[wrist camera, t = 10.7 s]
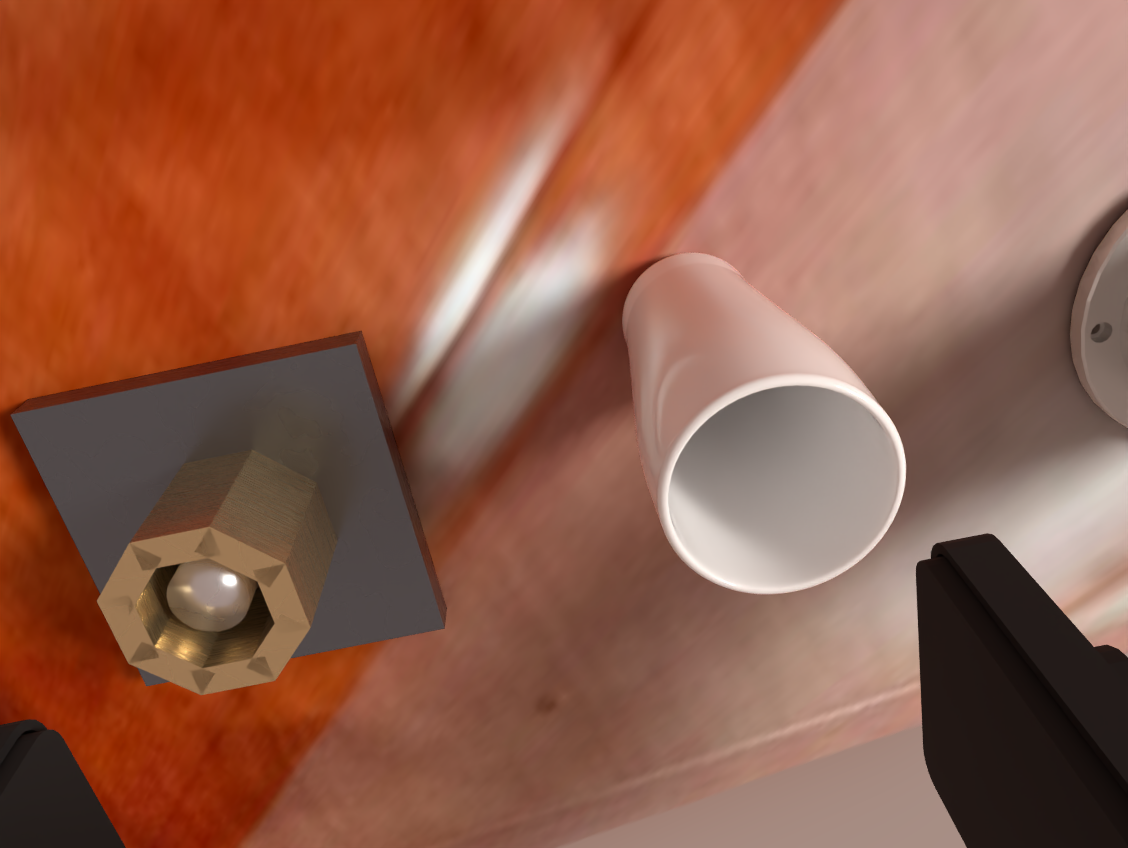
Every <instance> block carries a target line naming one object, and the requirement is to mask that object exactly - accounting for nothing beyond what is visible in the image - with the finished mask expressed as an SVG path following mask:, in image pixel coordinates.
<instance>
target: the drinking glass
mask: <svg viewBox="0 0 1128 848" xmlns="http://www.w3.org/2000/svg"><path fill="white" fill-rule="evenodd" d="M622 326H623V333H624V338H625V341H626V344H627V347H628V355H629V365H630V376H631V387H632V399H633V411H634V421H635V431H636V439H637V446H638V451H639V456H640V461H641V465H642V469H643V473H644V477H645V480H646V484H647V487H648V490H649V493H650V496H651V499H652V502H653V505H654V507H655V510H656V513H657V515H658V518H659V520H660V523H661V525H662V528H663V531H664V534H665V536H666V538H667V540H668V542H669V543H670V545H671V547H672V548H673V550H674V551H675V552H676V554H677V555H678V556H679V557H680V559H681V560H682V561H683V562H684V563H685V564H686V565H687V566H688V567H690V568H691V569H692V570H693V571H695V572H696V573H697V574H699V575H700V576H702V577H703V578H705V579H707V580H709V581H711V582H713V583H715V584H717V585H719V586H722V587H724V588H728V589H731V590H735V591H739V592H744V593H752V594H782V593H789V592H795V591H799V590H804V589H807V588H810V587H813V586H816V585H819V584H821V583H824V582H826V581H828V580H830V579H832V578H834V577H836V576H838V575H840V574H841V573H843V572H845V571H847V570H848V569H849V568H851V567H852V566H854V565H855V564H856V563H858V562H859V561H860V560H861V559H862V558H864V557H865V556H866V555H867V554H868V553H869V552H870V551H871V550H872V549H873V548H874V547H875V546H876V545H877V543H878V542H879V541H880V540H881V539H882V537H883V536H884V534H885V533H886V532H887V530H888V528H889V527H890V525H891V523H892V522H893V520H894V518H895V516H896V514H897V511H898V509H899V506H900V503H901V501H902V497H903V493H904V488H905V481H906V461H905V454H904V449H903V445H902V442H901V439H900V436H899V434H898V431H897V429H896V427H895V425H894V424H893V422H892V420H891V419H890V417H889V416H888V414H887V413H886V412H885V411H884V410H883V408H882V407H881V405H880V404H879V402H878V401H877V400H876V398H875V397H874V396H873V394H872V393H871V392H870V390H869V389H868V388H867V387H866V385H865V384H864V383H863V382H862V380H861V379H860V378H859V377H858V376H857V374H856V373H855V372H854V371H853V370H852V369H851V367H850V366H849V365H848V364H847V363H846V362H845V361H844V360H843V359H842V358H841V357H840V356H839V355H838V354H837V353H836V352H835V351H834V350H833V349H832V348H831V347H830V346H829V345H827V344H826V343H825V342H824V341H823V340H822V339H821V338H819V337H818V336H817V335H815V334H814V333H813V332H812V331H810V330H809V329H808V328H807V327H805V326H804V325H803V324H801V323H800V322H799V321H797V320H796V319H795V318H794V317H792V316H791V315H790V314H788V313H787V312H786V311H784V310H783V309H782V308H780V307H779V306H778V305H776V304H775V303H774V302H772V301H771V300H770V299H769V298H767V297H766V296H765V295H763V294H762V293H761V292H760V291H758V290H757V289H756V288H754V287H753V286H752V285H751V284H750V283H748V282H747V281H746V280H745V278H744V277H743V276H742V275H741V274H740V273H739V272H738V271H737V270H736V269H735V268H734V267H733V266H732V265H730V264H729V263H727V262H726V261H724V260H722V259H720V258H718V257H715V256H712V255H709V254H704V253H694V252H691V253H681V254H676V255H672V256H669V257H666V258H664V259H662V260H660V261H658V262H656V263H655V264H653V265H652V266H650V267H649V268H648V269H647V270H645V271H644V272H643V273H642V274H641V275H640V276H639V278H638V279H637V280H636V281H635V283H634V284H633V286H632V287H631V289H630V291H629V293H628V295H627V298H626V301H625V304H624V308H623V315H622Z"/></svg>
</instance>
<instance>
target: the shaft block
mask: <svg viewBox="0 0 1128 848" xmlns="http://www.w3.org/2000/svg"><path fill="white" fill-rule="evenodd" d="M10 415H11V417H12V419H13V421H14V423H15V425H16V427H17V429H18V431H19V433H20V435H21V437H22V439H23V441H24V443H25V445H26V447H27V449H28V451H29V453H30V455H31V457H32V459H33V461H34V463H35V465H36V467H37V469H38V471H39V473H40V475H41V477H42V479H43V481H44V483H45V485H46V487H47V489H48V491H49V493H50V495H51V497H52V499H53V501H54V503H55V505H56V507H57V509H58V511H59V513H60V515H61V517H62V519H63V521H64V523H65V525H66V527H67V529H68V531H69V533H70V535H71V537H72V539H73V541H74V543H75V545H76V547H77V549H78V551H79V553H80V555H81V557H82V559H83V561H84V563H85V564H86V566H87V568H88V570H89V572H90V574H91V576H92V578H93V580H94V582H95V584H96V586H97V588H98V590H99V592H100V594H101V593H102V591H103V589H104V587H105V586H106V584H107V582H108V580H109V578H110V577H111V575H112V573H113V571H114V569H115V568H116V566H117V564H118V562H119V560H120V559H121V557H122V555H123V553H124V551H125V550H126V548H127V546H128V544H129V543H130V541H131V540H132V538H133V537H134V535H135V534H136V532H137V531H138V529H139V528H140V527H141V525H142V524H143V522H144V521H145V519H146V518H147V516H148V515H149V513H150V512H151V510H152V509H153V508H154V506H155V505H156V503H157V502H158V500H159V499H160V497H161V496H162V494H163V493H164V492H165V490H166V489H167V487H168V486H169V484H170V483H171V481H172V480H173V478H174V477H175V475H176V474H177V473H178V471H179V470H180V468H181V467H182V465H183V464H184V463H189V462H194V461H199V460H204V459H209V458H214V457H218V456H223V455H228V454H233V453H238V452H243V451H248V450H254V451H256V452H258V453H260V454H262V455H264V456H266V457H268V458H270V459H272V460H274V461H276V462H277V463H279V464H281V465H283V466H285V467H287V468H289V469H291V470H293V471H295V472H297V473H299V474H301V475H303V476H305V477H306V478H308V479H310V480H312V481H314V482H316V483H317V485H318V488H319V490H320V493H321V496H322V499H323V501H324V504H325V507H326V510H327V513H328V515H329V518H330V521H331V524H332V527H333V529H334V532H335V535H336V538H337V544H336V548H335V551H334V554H333V557H332V561H331V564H330V567H329V570H328V573H327V577H326V580H325V583H324V586H323V589H322V593H321V596H320V599H319V602H318V606H317V609H316V612H315V615H314V618H313V622H312V625H311V628H310V629H309V631H308V632H307V634H306V635H305V637H304V638H303V640H302V641H301V643H300V644H299V646H298V647H297V649H296V650H295V652H294V653H293V655H292V656H291V658H295V657H300V656H305V655H310V654H315V653H320V652H326V651H331V650H336V649H341V648H346V647H351V646H357V645H362V644H367V643H372V642H377V641H382V640H388V639H393V638H398V637H403V636H408V635H413V634H419V633H424V632H429V631H434V630H439V629H444V628H445V620H446V610H447V608H446V605H445V601H444V598H443V595H442V592H441V588H440V585H439V582H438V579H437V575H436V572H435V569H434V566H433V562H432V559H431V556H430V553H429V549H428V546H427V543H426V540H425V536H424V533H423V530H422V527H421V523H420V520H419V517H418V514H417V510H416V507H415V504H414V501H413V497H412V494H411V491H410V487H409V484H408V481H407V478H406V474H405V471H404V468H403V465H402V461H401V458H400V455H399V452H398V448H397V445H396V442H395V439H394V435H393V432H392V429H391V426H390V422H389V419H388V416H387V413H386V409H385V406H384V403H383V400H382V396H381V393H380V390H379V387H378V383H377V380H376V377H375V374H374V370H373V367H372V364H371V361H370V357H369V354H368V351H367V348H366V344H365V341H364V338H363V335H362V331H359V332H354V333H349V334H344V335H339V336H334V337H329V338H325V339H320V340H315V341H310V342H305V343H300V344H295V345H290V346H286V347H281V348H276V349H271V350H266V351H261V352H256V353H251V354H247V355H242V356H237V357H232V358H227V359H222V360H217V361H213V362H208V363H203V364H198V365H193V366H188V367H183V368H178V369H174V370H169V371H164V372H159V373H154V374H149V375H144V376H140V377H135V378H130V379H125V380H120V381H115V382H110V383H105V384H101V385H96V386H91V387H86V388H81V389H76V390H71V391H67V392H62V393H57V394H52V395H47V396H42V397H37V398H32V399H28V400H27V401H26V402H24V403H23V404H22V405H21V406H20V407H19V408H17V409H16V410H15V411H14V412H13V413H12V414H10ZM258 585H259V584H258V581H256V580H253V579H251V578H249V577H247V576H245V575H243V574H241V573H239V572H237V571H235V570H232V569H230V568H228V567H226V566H224V565H222V564H220V563H218V562H216V561H213V560H211V559H209V558H205V559H200V560H195V561H190V562H185V563H180V565H179V567H178V569H177V570H176V572H175V574H174V576H173V577H172V579H171V581H170V583H169V585H168V588H167V601H168V604H169V607H170V609H171V611H172V612H173V613H174V615H175V616H176V617H177V618H178V619H179V620H181V621H182V622H183V623H185V624H186V625H188V626H190V627H193V628H195V629H198V630H202V631H210V632H215V631H223V630H227V629H229V628H232V627H234V626H236V625H237V624H238V623H240V622H241V621H242V620H243V618H244V617H245V615H246V613H247V611H248V609H249V607H250V604H251V602H252V599H253V597H254V595H255V592H256V590H257V587H258ZM138 670H139V672H140V674H141V676H142V678H143V680H144V682H145V684H146V686H150V685H155V684H160V683H165V682H170V681H168V680H165V679H163V678H161V677H158V676H156V675H154V674H151V673H149V672H147V671H144V670H142V669H140V668H138Z"/></svg>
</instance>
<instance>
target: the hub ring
mask: <svg viewBox="0 0 1128 848" xmlns="http://www.w3.org/2000/svg"><path fill="white" fill-rule="evenodd" d="M336 544H337V538H336V535H335V532H334V529H333V527H332V524H331V521H330V518H329V515H328V513H327V510H326V507H325V504H324V501H323V499H322V496H321V493H320V490H319V488H318V485H317V483H316V482H314V481H312V480H310V479H308V478H306V477H305V476H303V475H301V474H299V473H297V472H295V471H293V470H291V469H289V468H287V467H285V466H283V465H281V464H279V463H277V462H276V461H274V460H272V459H270V458H268V457H266V456H264V455H262V454H260V453H258V452H256V451H254V450H248V451H243V452H238V453H233V454H228V455H223V456H218V457H214V458H209V459H204V460H199V461H194V462H189V463H184V464H183V465H182V467H181V468H180V470H179V471H178V473H177V474H176V475H175V477H174V478H173V480H172V481H171V483H170V484H169V486H168V487H167V489H166V490H165V492H164V493H163V494H162V496H161V497H160V499H159V500H158V502H157V503H156V505H155V506H154V508H153V509H152V510H151V512H150V513H149V515H148V516H147V518H146V519H145V521H144V522H143V524H142V525H141V527H140V528H139V529H138V531H137V532H136V534H135V535H134V537H133V538H132V540H131V541H130V543H129V544H128V546H127V548H126V550H125V551H124V553H123V555H122V557H121V559H120V560H119V562H118V564H117V566H116V568H115V569H114V571H113V573H112V575H111V577H110V578H109V580H108V582H107V584H106V586H105V587H104V589H103V591H102V593H101V595H100V596H99V598H98V600H97V603H98V605H99V607H100V608H101V610H102V612H103V614H104V616H105V618H106V620H107V622H108V624H109V626H110V628H111V630H112V632H113V634H114V636H115V638H116V640H117V642H118V644H119V646H120V648H121V650H122V652H123V654H124V656H125V658H126V660H127V662H128V664H131V665H133V666H135V667H137V668H140V669H142V670H144V671H147V672H149V673H151V674H154V675H156V676H158V677H161V678H163V679H165V680H168V681H170V682H172V683H175V684H177V685H179V686H182V687H184V688H186V689H189V690H191V691H193V692H195V693H198V694H200V695H204V694H209V693H215V692H220V691H225V690H230V689H235V688H240V687H245V686H250V685H256V684H261V683H266V682H271V681H275V680H276V679H277V677H278V676H279V674H280V673H281V671H282V670H283V668H284V667H285V665H286V664H287V662H288V661H289V659H290V658H291V656H292V655H293V653H294V652H295V650H296V649H297V647H298V646H299V644H300V643H301V641H302V640H303V638H304V637H305V635H306V634H307V632H308V631H309V629H310V628H311V625H312V622H313V618H314V615H315V612H316V609H317V606H318V602H319V599H320V596H321V593H322V589H323V586H324V583H325V580H326V577H327V573H328V570H329V567H330V564H331V561H332V557H333V554H334V551H335V548H336ZM205 558H209V559H211V560H213V561H216V562H218V563H220V564H222V565H224V566H226V567H228V568H230V569H232V570H235V571H237V572H239V573H241V574H243V575H245V576H247V577H249V578H251V579H253V580H256V581H258V584H259V585H258V587H257V590H256V592H255V595H254V597H253V599H252V602H251V604H250V607H249V609H248V611H247V613H246V615H245V617H244V618H243V620H242V621H241V622H240V623H238V624H237V625H236V626H234V627H232V628H229V629H227V630H223V631H215V632H210V631H202V630H198V629H195V628H193V627H190V626H188V625H186V624H185V623H183V622H182V621H181V620H179V619H178V618H177V617H176V616H175V615H174V613H173V612H172V611H171V609H170V607H169V604H168V601H167V588H168V585H169V583H170V581H171V579H172V577H173V576H174V574H175V572H176V570H177V569H178V567H179V565H180V563H185V562H190V561H195V560H200V559H205Z"/></svg>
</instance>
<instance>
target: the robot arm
mask: <svg viewBox="0 0 1128 848" xmlns="http://www.w3.org/2000/svg"><path fill="white" fill-rule="evenodd" d="M1070 342H1071V350H1072V359H1073V363H1074V366H1075V369H1076V371H1077V374H1078V377H1079V380H1080V382H1081V384H1082V386H1083V387H1084V389H1085V390H1086V392H1087V393H1088V395H1089V396H1090V398H1091V399H1092V401H1093V402H1094V403H1095V404H1096V405H1097V406H1099V407H1100V408H1101V409H1102V410H1103V411H1104V412H1105V413H1106V414H1108V415H1109V416H1110V417H1111V418H1113V419H1114V420H1116V421H1117V422H1119V423H1120V424H1122V425H1123V426H1125V427H1127V428H1128V209H1127V210H1126V212H1125V213H1124V214H1123V215H1122V216H1121V217H1120V218H1119V219H1118V220H1117V221H1116V222H1115V223H1114V224H1113V226H1112V227H1111V228H1110V230H1109V231H1108V233H1107V234H1106V236H1105V237H1104V239H1103V240H1102V241H1101V243H1100V244H1099V246H1098V247H1097V249H1096V250H1095V252H1094V253H1093V255H1092V258H1091V260H1090V262H1089V264H1088V266H1087V268H1086V270H1085V272H1084V274H1083V276H1082V278H1081V280H1080V284H1079V287H1078V291H1077V294H1076V298H1075V301H1074V305H1073V308H1072V318H1071V328H1070ZM916 586H917V610H918V634H919V658H920V681H921V705H922V729H923V749H924V756H925V761H926V765H927V768H928V772H929V774H930V777H931V779H932V782H933V784H934V786H935V788H936V790H937V792H938V794H939V795H940V798H941V799H942V801H943V803H944V805H945V807H946V809H947V811H948V813H949V815H950V816H951V818H952V820H953V822H954V824H955V825H956V828H957V830H958V832H959V833H960V835H961V837H962V839H963V841H964V843H965V845H966V847H967V848H1128V657H1127V656H1126V655H1125V654H1123V653H1122V652H1121V651H1120V650H1119V649H1117V648H1114V647H1112V646H1109V645H1103V646H1097V647H1093V646H1092V644H1091V643H1090V642H1089V641H1088V640H1087V639H1086V638H1085V636H1084V635H1083V634H1082V633H1081V632H1080V631H1079V630H1078V629H1077V627H1076V626H1075V625H1074V624H1073V623H1072V622H1071V621H1070V620H1069V618H1068V617H1067V616H1066V615H1065V614H1064V613H1063V612H1062V610H1061V609H1060V608H1059V607H1058V606H1057V605H1056V604H1055V603H1054V601H1053V600H1052V599H1051V598H1050V597H1049V596H1048V595H1047V594H1046V592H1045V591H1044V590H1043V589H1042V588H1041V587H1040V586H1039V584H1038V583H1037V582H1036V581H1035V580H1034V579H1033V578H1032V577H1031V575H1030V574H1029V573H1028V572H1027V571H1026V570H1025V569H1024V567H1023V566H1022V565H1021V564H1020V563H1019V562H1018V561H1017V560H1016V558H1015V557H1014V556H1013V555H1012V554H1011V553H1010V552H1009V551H1008V549H1007V548H1006V547H1005V546H1004V545H1003V544H1002V543H1001V541H1000V540H999V539H997V538H996V537H995V536H994V535H992V534H988V533H987V534H982V535H977V536H972V537H966V538H961V539H956V540H951V541H946V542H941V543H936V544H935V545H934V546H933V548H932V551H931V559H927V560H922V561H919V562H918V563H917V566H916ZM0 848H126V847H125V846H124V844H123V842H122V840H121V839H120V837H119V835H118V833H117V832H116V830H115V828H114V826H113V825H112V823H111V821H110V820H109V818H108V816H107V814H106V813H105V811H104V809H103V807H102V806H101V804H100V802H99V800H98V799H97V797H96V795H95V793H94V792H93V790H92V788H91V786H90V785H89V783H88V781H87V779H86V778H85V776H84V774H83V772H82V771H81V769H80V767H79V765H78V764H77V762H76V760H75V758H74V757H73V755H72V753H71V751H70V750H69V748H68V746H67V744H66V743H65V741H64V739H63V738H62V736H61V735H60V734H59V733H58V732H56V731H55V730H47V728H46V727H45V726H44V725H43V724H42V723H40V722H39V721H37V720H23V721H18V722H13V723H8V724H3V725H0Z"/></svg>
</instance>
